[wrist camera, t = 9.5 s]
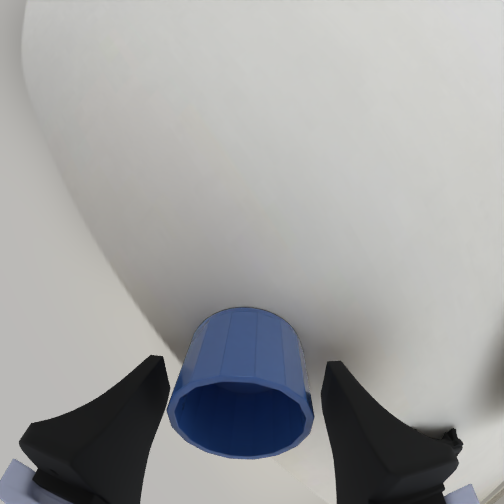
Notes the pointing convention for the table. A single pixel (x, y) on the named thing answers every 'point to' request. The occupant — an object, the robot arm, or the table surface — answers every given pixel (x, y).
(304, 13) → the table surface
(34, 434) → the robot arm
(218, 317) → the small cup
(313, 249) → the table surface
